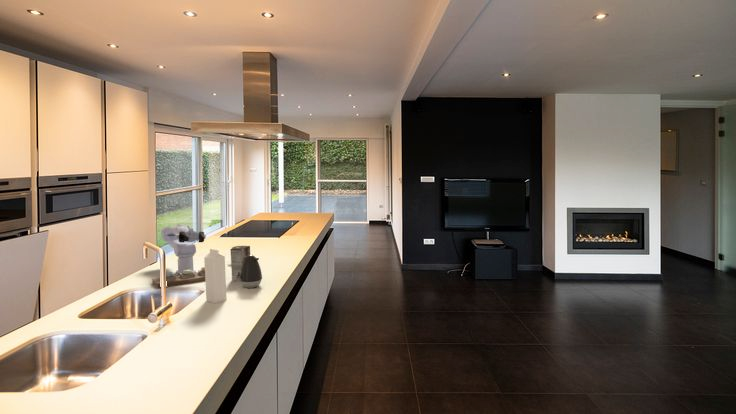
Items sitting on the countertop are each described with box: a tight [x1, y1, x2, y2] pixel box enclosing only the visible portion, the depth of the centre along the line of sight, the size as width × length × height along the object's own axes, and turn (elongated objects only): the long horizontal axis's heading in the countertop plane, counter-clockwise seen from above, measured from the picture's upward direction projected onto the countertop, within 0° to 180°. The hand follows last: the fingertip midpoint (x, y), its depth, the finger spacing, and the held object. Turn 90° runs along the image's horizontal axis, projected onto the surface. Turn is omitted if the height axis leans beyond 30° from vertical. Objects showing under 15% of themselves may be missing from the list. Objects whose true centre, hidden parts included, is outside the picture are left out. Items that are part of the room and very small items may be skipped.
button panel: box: [151, 269, 205, 289], centre depth 221 cm, size 12×30×4 cm, turn 127°
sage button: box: [183, 270, 192, 275], centre depth 221 cm, size 4×4×2 cm
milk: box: [203, 248, 227, 304], centre depth 187 cm, size 6×6×22 cm
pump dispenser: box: [240, 254, 263, 289], centre depth 208 cm, size 10×10×15 cm
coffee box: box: [230, 245, 251, 282], centre depth 224 cm, size 9×6×16 cm
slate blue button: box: [165, 271, 174, 278], centre depth 216 cm, size 4×4×2 cm
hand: (195, 239), depth 221 cm, fingers open, 7 cm apart
